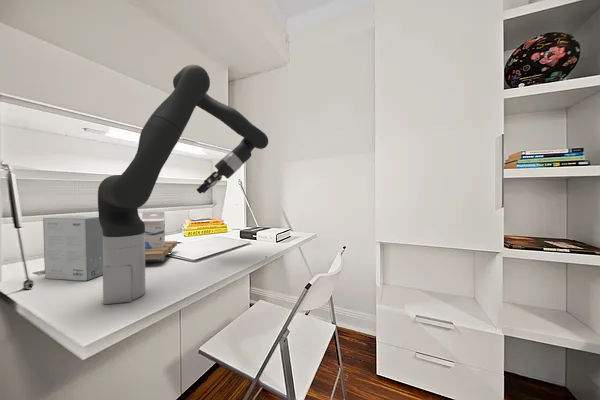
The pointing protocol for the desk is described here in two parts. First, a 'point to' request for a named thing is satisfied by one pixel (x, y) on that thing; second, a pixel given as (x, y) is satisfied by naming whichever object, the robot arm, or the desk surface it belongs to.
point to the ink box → (154, 229)
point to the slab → (160, 250)
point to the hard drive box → (73, 247)
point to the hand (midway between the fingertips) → (200, 191)
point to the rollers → (155, 259)
